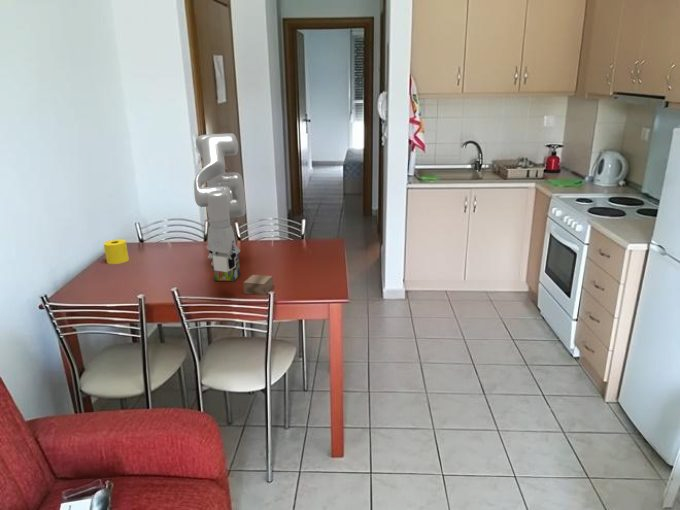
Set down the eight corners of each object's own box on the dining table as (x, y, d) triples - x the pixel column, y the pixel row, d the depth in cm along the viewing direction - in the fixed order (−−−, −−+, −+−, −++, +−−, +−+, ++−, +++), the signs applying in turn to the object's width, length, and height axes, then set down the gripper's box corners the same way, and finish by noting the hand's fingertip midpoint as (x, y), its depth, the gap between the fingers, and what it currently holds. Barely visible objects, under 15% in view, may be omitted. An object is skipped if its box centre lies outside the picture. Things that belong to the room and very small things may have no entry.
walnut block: (244, 294, 213) (243, 282, 212) (253, 285, 221) (252, 274, 220) (265, 295, 211) (264, 284, 209) (273, 287, 219) (272, 276, 218)
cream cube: (214, 270, 208) (212, 256, 206) (223, 264, 213) (221, 250, 211) (227, 272, 205) (225, 257, 203) (235, 266, 210) (234, 252, 208)
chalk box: (221, 273, 236) (217, 242, 231) (241, 274, 235) (238, 242, 230) (214, 281, 227) (210, 248, 223) (234, 281, 226) (231, 248, 221)
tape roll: (119, 264, 252) (115, 246, 249) (102, 263, 256) (99, 244, 253) (133, 258, 261) (130, 240, 258) (116, 256, 265) (113, 238, 262)
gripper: (195, 223, 203) (201, 267, 209) (233, 228, 196) (237, 273, 202) (207, 218, 209) (212, 260, 215) (244, 222, 202) (248, 266, 209)
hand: (224, 266), depth 209 cm, fingers closed on cream cube, 6 cm apart
